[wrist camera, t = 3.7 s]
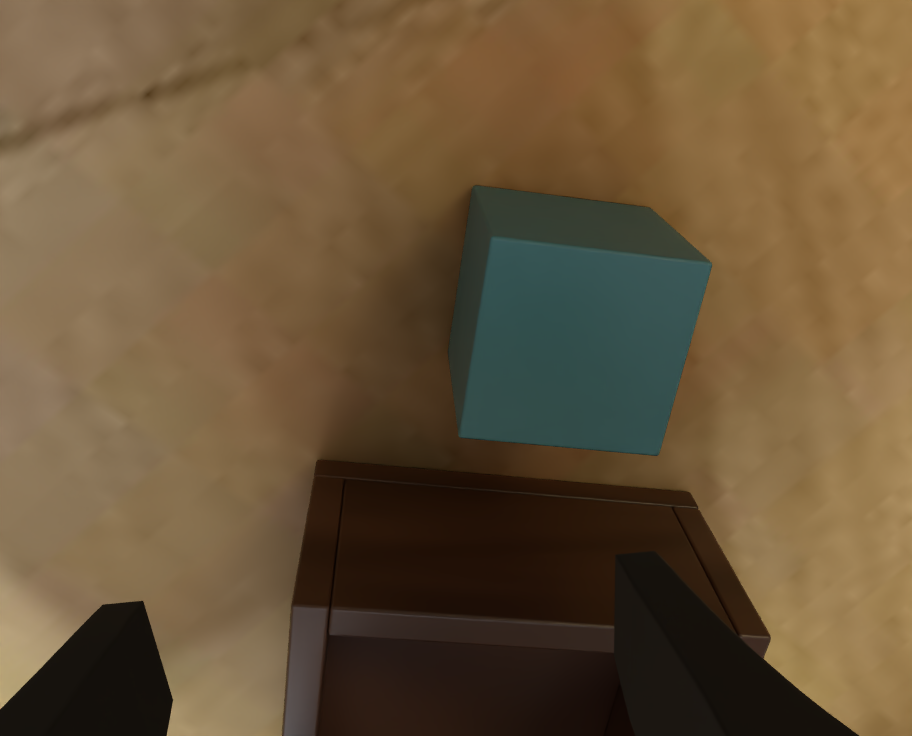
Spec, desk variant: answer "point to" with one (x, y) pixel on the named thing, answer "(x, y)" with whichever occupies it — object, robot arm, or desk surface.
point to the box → (478, 601)
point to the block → (571, 322)
